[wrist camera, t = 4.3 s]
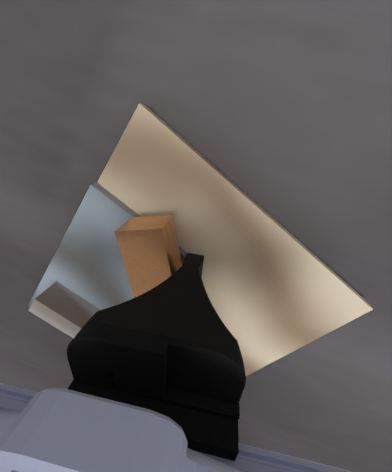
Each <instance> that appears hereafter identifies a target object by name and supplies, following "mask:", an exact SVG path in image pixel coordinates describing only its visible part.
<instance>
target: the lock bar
mask: <svg viewBox="0 0 392 472" xmlns="http://www.w3.org/2000/svg"><path fill="white" fill-rule="evenodd" d="M114 233H115V236H116V239H117V242H118V246H119V249H120V252H121V255H122V259H123V262H124V265H125V269H126V272H127V275H128V278H129V282H130V285H131V288H132V291H133V295H134V298H135V297H138V296H140V295H142V294H144V293H145V292H147V291H149V290H151V289H153V288H154V287H156V286H158V285H159V284H161V283H162V282H163V281H165V280H166V279H167V278H169V277H170V276H171V275H172V274H174V273H175V272H176V271H177V270H178V269H179V268H180V267H181V266H182V264H181V258H180V252H179V246H178V240H177V235H176V229H175V223H174V217H173V215H160V216H145V217H132V218H131V219H130V220H128V221H127V222H126V223H124V224H123V225H122V226H120V227H119V228H118V229H117V230H115V231H114Z"/></svg>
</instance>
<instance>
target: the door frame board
mask: <svg viewBox="0 0 392 472" xmlns="http://www.w3.org/2000/svg"><path fill="white" fill-rule="evenodd" d="M160 215H173V217H174V223H175V229H176V235H177V240H178V246H179V252H180V258H181V264H183V261H184V257H185V256H186V254H187V253H193V254H199V255H204V262H203V269H202V277H201V278H202V281H203V284H204V287H205V290H206V293H207V295H208V297H209V299H210V301H211V303H212V305H213V307H214V309H215V310H216V312H217V314H218V316H219V317H220V319H221V320H222V322H223V323H224V325H225V326H226V327H227V329H228V330H229V331H230V333H231V334H232V335H233V336H234V337H235V339H236V340H237V341H238V344H239V347H240V351H241V354H242V358H243V363H244V368H245V375H246V376H247V375H249V374H251V373H253V372H255V371H257V370H259V369H260V368H262V367H264V366H266V365H268V364H270V363H272V362H274V361H276V360H278V359H280V358H281V357H283V356H285V355H287V354H289V353H291V352H293V351H295V350H297V349H299V348H300V347H302V346H304V345H306V344H308V343H310V342H312V341H314V340H316V339H318V338H320V337H321V336H323V335H325V334H327V333H329V332H331V331H333V330H335V329H337V328H339V327H340V326H342V325H344V324H346V323H348V322H350V321H352V320H354V319H356V318H358V317H360V316H361V315H363V314H365V313H367V312H369V311H371V310H373V309H372V307H371V306H370V305H369V304H368V303H367V302H366V300H365V299H364V298H363V297H362V296H360V295H359V294H358V293H357V292H356V291H355V290H354V289H353V288H351V287H350V286H349V285H348V284H347V283H346V282H345V281H344V280H342V279H341V278H340V277H339V276H338V275H337V274H336V273H335V272H333V271H332V270H331V269H330V268H329V267H328V266H327V265H325V264H324V263H323V262H322V261H321V260H320V259H319V258H318V257H316V256H315V255H314V254H313V253H312V252H311V251H310V250H309V249H307V248H306V247H305V246H304V245H303V244H302V243H301V242H300V241H298V240H297V239H296V238H295V237H294V236H293V235H292V234H291V233H289V232H288V231H287V230H286V229H285V228H284V227H283V226H281V225H280V224H279V223H278V222H277V221H276V220H275V219H274V218H272V217H271V216H270V215H269V214H268V213H267V212H266V211H265V210H263V209H262V208H261V207H260V206H259V205H258V204H257V203H256V202H254V201H253V200H252V199H251V198H250V197H249V196H248V195H246V194H245V193H244V192H243V191H242V190H241V189H240V188H239V187H237V186H236V185H235V184H234V183H233V182H232V181H231V180H230V179H228V178H227V177H226V176H225V175H224V174H223V173H222V172H221V171H219V170H218V169H217V168H216V167H215V166H214V165H213V164H211V163H210V162H209V161H208V160H207V159H206V158H205V157H204V156H202V155H201V154H200V153H199V152H198V151H197V150H196V149H195V148H193V147H192V146H191V145H190V144H189V143H188V142H187V141H186V140H184V139H183V138H182V137H181V136H180V135H179V134H178V133H177V132H175V131H174V130H173V129H172V128H171V127H170V126H169V125H167V124H166V123H165V122H164V121H163V120H162V119H161V118H160V117H158V116H157V115H156V114H155V113H154V112H153V111H152V110H151V109H149V108H148V107H147V106H145V105H143V104H140V103H139V105H138V107H137V109H136V110H135V112H134V114H133V116H132V118H131V120H130V122H129V124H128V125H127V127H126V129H125V131H124V133H123V135H122V137H121V139H120V141H119V142H118V144H117V146H116V148H115V150H114V152H113V154H112V156H111V157H110V159H109V161H108V163H107V165H106V167H105V169H104V171H103V173H102V174H101V176H100V178H99V180H98V182H97V183H94V184H91V185H90V187H89V189H88V191H87V193H86V195H85V197H84V199H83V201H82V203H81V205H80V206H79V208H78V210H77V212H76V214H75V216H74V218H73V220H72V222H71V224H70V226H69V228H68V230H67V232H66V234H65V235H64V237H63V239H62V241H61V243H60V245H59V247H58V249H57V251H56V253H55V255H54V257H53V259H52V261H51V263H50V264H49V266H48V268H47V270H46V272H45V274H44V276H43V278H42V280H41V282H40V284H39V286H38V288H37V290H36V292H35V293H34V295H33V297H32V299H31V301H30V303H29V306H30V309H29V311H30V312H32V313H33V314H35V315H37V316H38V317H40V318H41V319H43V320H45V321H46V322H48V323H49V324H51V325H53V326H54V327H56V328H57V329H59V330H61V331H62V332H64V333H66V334H67V335H69V336H70V337H72V338H74V337H75V336H76V335H77V333H78V332H79V331H80V330H81V328H82V327H83V326H84V325H85V324H86V322H87V321H88V320H89V319H90V318H91V317H92V316H93V315H94V314H95V313H96V312H97V311H100V310H103V309H106V308H109V307H112V306H115V305H118V304H121V303H124V302H126V301H128V300H131V299H133V298H134V295H133V291H132V288H131V285H130V282H129V278H128V275H127V272H126V269H125V265H124V262H123V259H122V255H121V252H120V249H119V246H118V242H117V239H116V236H115V233H114V231H115V230H117V229H118V228H119V227H120V226H122V225H123V224H124V223H126V222H127V221H128V220H130V219H131V218H132V217H145V216H160Z"/></svg>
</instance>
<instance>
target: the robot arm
mask: <svg viewBox="0 0 392 472" xmlns="http://www.w3.org/2000/svg"><path fill="white" fill-rule="evenodd" d="M203 262H204V255H199V254H193V253H187V254H186V256H185V257H184V261H183V264H182V266H181V267H180V268H179V269H178V270H177V271H176V272H175V273H174V274H172V275H171V276H170V277H169V278H167V279H166V280H165V281H163V282H162V283H161V284H159V285H158V286H156V287H154V288H153V289H151V290H149V291H147V292H145V293H144V294H142V295H140V296H138V297H135V298H133V299H131V300H128V301H126V302H124V303H121V304H118V305H115V306H112V307H109V308H106V309H103V310H100V311H97V312H96V313H95V314H94V315H93V316H92V317H91V318H90V319H89V320H88V321H87V322H86V324H85V325H84V326H83V327H82V328H81V330H80V331H79V332H78V333H77V335H76V336H75V337H74V339H73V340H72V341H71V342H70V344H69V345H68V348H67V357H68V361H69V364H70V368H71V371H72V375H73V378H74V380H73V382H72V383H71V385H70V386H69V388H68V389H61V388H48V389H45V390H43V391H41V392H36V391H32V390H28V389H24V388H20V387H16V386H12V385H8V384H4V383H0V472H352V471H349V470H345V469H341V468H337V467H333V466H329V465H325V464H321V463H317V462H313V461H309V460H305V459H301V458H297V457H293V456H289V455H285V454H281V453H277V452H273V451H269V450H265V449H261V448H257V447H253V446H250V445H246V444H242V443H238V419H239V401H240V398H241V395H242V393H243V390H244V387H245V381H246V375H245V368H244V363H243V358H242V354H241V351H240V347H239V344H238V341H237V340H236V339H235V337H234V336H233V335H232V334H231V333H230V331H229V330H228V329H227V327H226V326H225V325H224V323H223V322H222V320H221V319H220V317H219V316H218V314H217V312H216V310H215V309H214V307H213V305H212V303H211V301H210V299H209V297H208V295H207V293H206V290H205V287H204V284H203V281H202V278H201V277H202V269H203Z"/></svg>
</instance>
